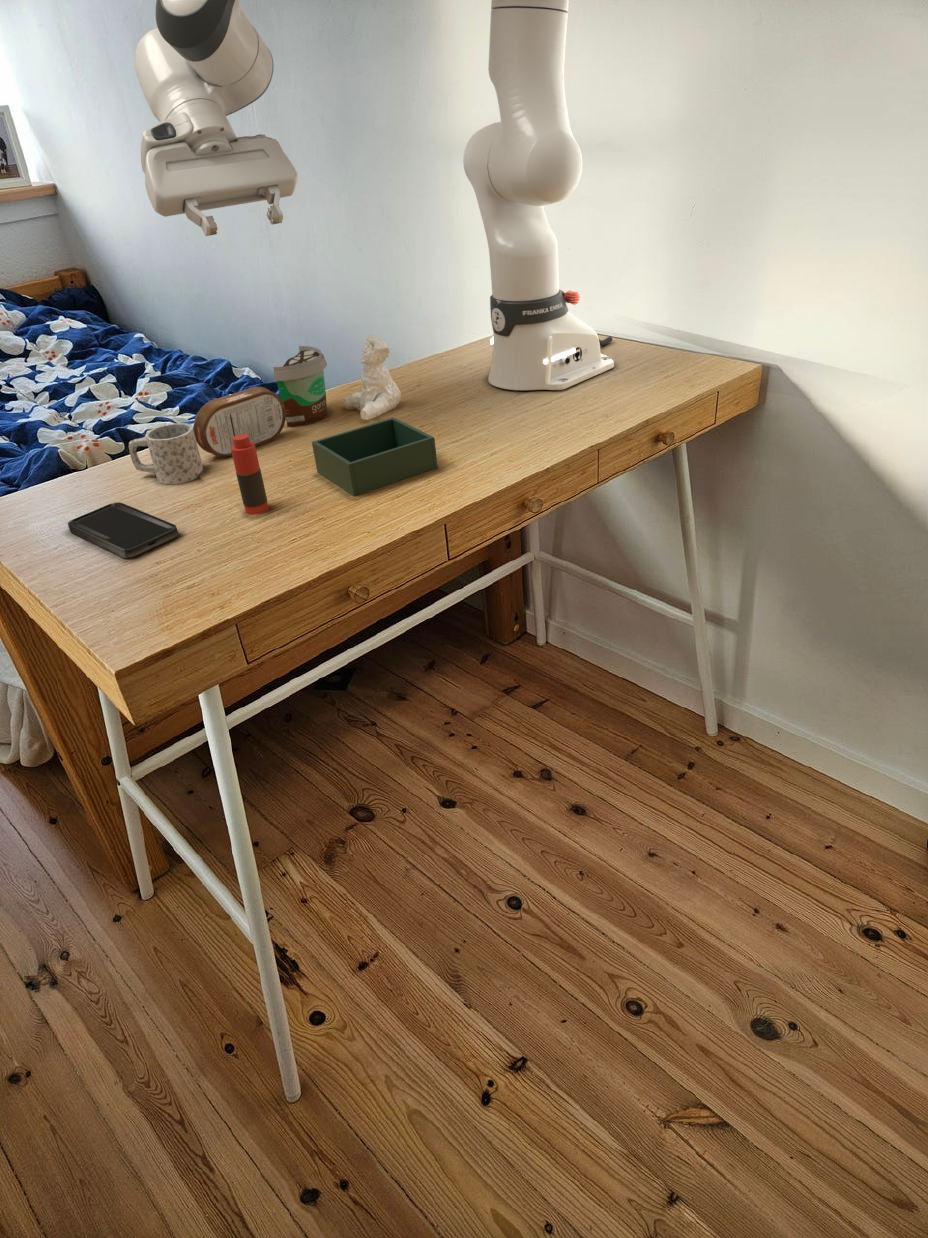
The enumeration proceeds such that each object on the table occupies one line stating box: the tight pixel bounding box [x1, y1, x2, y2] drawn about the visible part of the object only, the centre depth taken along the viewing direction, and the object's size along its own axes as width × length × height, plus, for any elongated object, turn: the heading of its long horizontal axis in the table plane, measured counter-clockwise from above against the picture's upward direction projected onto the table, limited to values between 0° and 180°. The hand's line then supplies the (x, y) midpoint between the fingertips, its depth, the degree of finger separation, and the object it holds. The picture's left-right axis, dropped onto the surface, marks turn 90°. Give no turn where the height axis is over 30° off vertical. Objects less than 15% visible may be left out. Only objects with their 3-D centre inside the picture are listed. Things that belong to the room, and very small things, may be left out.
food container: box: [272, 345, 328, 428], centre depth 145 cm, size 12×6×10 cm, turn 168°
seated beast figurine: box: [344, 335, 402, 421], centre depth 145 cm, size 10×9×12 cm
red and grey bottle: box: [231, 434, 269, 516], centre depth 115 cm, size 3×3×10 cm
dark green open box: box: [311, 416, 439, 497], centre depth 124 cm, size 13×11×5 cm
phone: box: [67, 501, 180, 559], centre depth 115 cm, size 8×1×15 cm
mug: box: [128, 422, 204, 485], centre depth 129 cm, size 10×7×7 cm, turn 86°
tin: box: [193, 386, 286, 458], centre depth 136 cm, size 15×3×8 cm, turn 134°
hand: (245, 226), depth 120 cm, fingers open, 8 cm apart
